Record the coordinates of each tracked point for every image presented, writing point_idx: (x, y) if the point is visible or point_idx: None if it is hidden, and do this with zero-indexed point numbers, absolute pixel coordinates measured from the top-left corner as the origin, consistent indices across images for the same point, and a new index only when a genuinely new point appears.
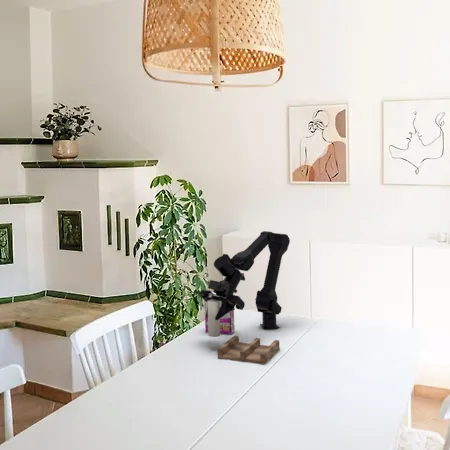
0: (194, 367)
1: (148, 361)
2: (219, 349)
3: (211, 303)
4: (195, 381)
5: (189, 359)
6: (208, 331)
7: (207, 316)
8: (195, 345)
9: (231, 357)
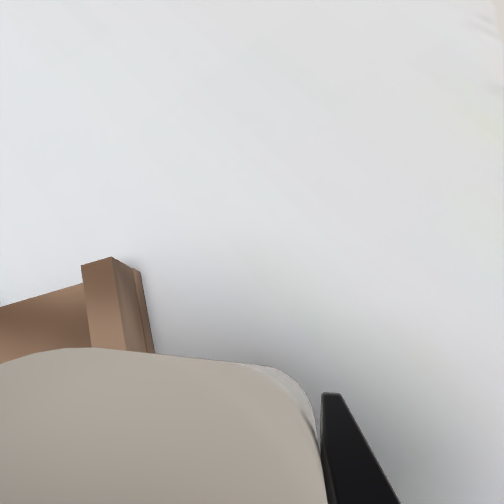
0: (167, 101)
1: (436, 13)
2: (98, 262)
3: (27, 363)
4: (65, 4)
5: (269, 162)
6: (285, 375)
7: (321, 421)
8: (440, 386)
9: (43, 295)
